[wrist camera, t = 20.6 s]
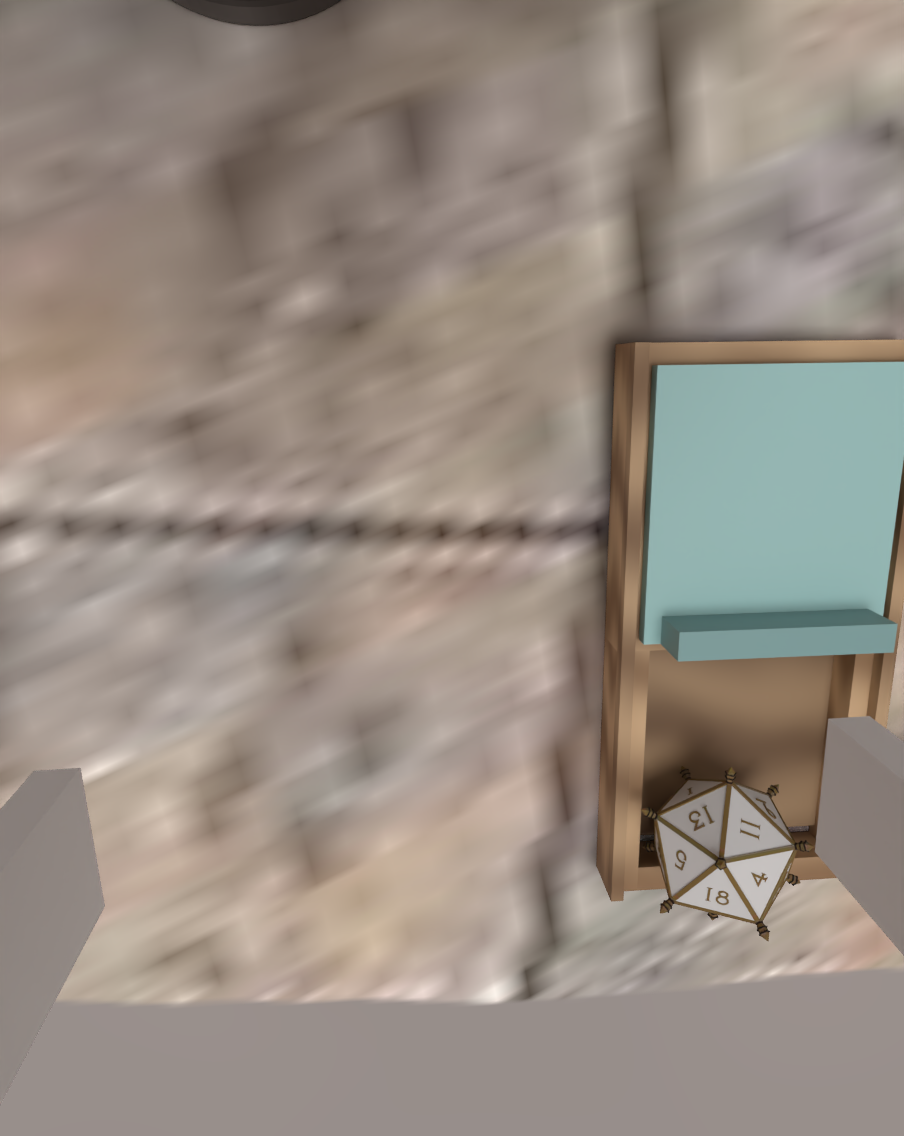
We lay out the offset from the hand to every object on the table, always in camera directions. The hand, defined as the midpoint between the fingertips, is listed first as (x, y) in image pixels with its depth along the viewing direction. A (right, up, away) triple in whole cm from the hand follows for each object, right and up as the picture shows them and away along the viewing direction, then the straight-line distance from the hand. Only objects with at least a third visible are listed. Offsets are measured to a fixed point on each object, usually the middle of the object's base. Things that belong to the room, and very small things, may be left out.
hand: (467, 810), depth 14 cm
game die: (+15, -7, +30) cm, 34 cm away
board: (+16, +1, +30) cm, 34 cm away
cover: (+16, +7, +26) cm, 31 cm away
